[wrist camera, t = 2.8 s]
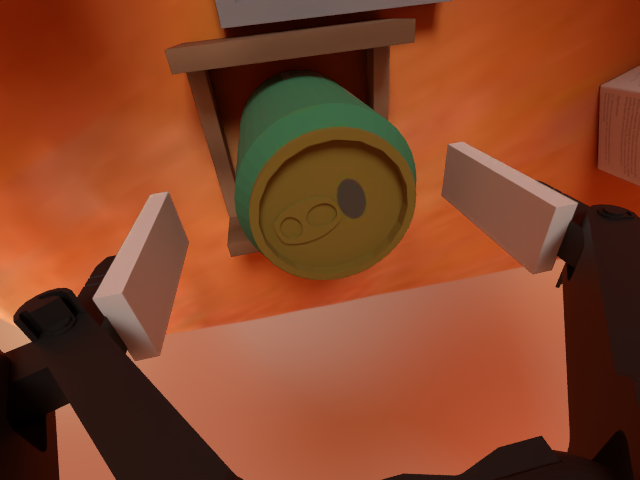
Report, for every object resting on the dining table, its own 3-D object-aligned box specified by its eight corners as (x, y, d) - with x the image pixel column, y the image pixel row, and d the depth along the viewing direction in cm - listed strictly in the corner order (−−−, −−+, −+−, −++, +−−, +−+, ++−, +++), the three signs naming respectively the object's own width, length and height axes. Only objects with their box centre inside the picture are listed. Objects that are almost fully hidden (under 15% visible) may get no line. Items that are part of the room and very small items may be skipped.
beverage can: (366, 159, 25) (441, 249, 15) (270, 199, 25) (284, 312, 16) (333, 46, 20) (411, 71, 11) (217, 98, 21) (189, 167, 11)
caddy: (182, 43, 19) (164, 49, 15) (381, 18, 20) (415, 18, 16) (233, 219, 26) (231, 256, 22) (379, 193, 27) (403, 224, 23)
